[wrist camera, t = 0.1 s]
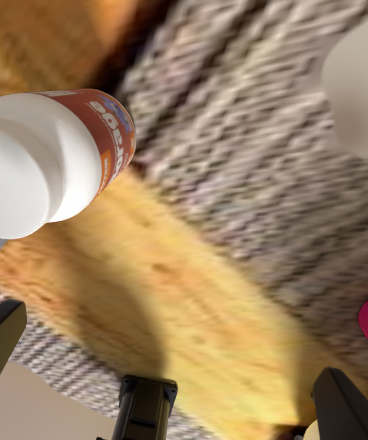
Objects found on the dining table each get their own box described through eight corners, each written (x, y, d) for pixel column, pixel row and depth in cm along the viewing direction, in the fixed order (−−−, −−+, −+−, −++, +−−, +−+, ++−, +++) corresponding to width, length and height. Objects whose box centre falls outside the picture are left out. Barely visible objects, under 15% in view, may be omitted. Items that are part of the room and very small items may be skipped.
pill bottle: (145, 171, 21) (88, 252, 11) (70, 178, 22) (-44, 260, 12) (128, 81, 19) (33, 86, 9) (43, 93, 19) (-131, 111, 10)
